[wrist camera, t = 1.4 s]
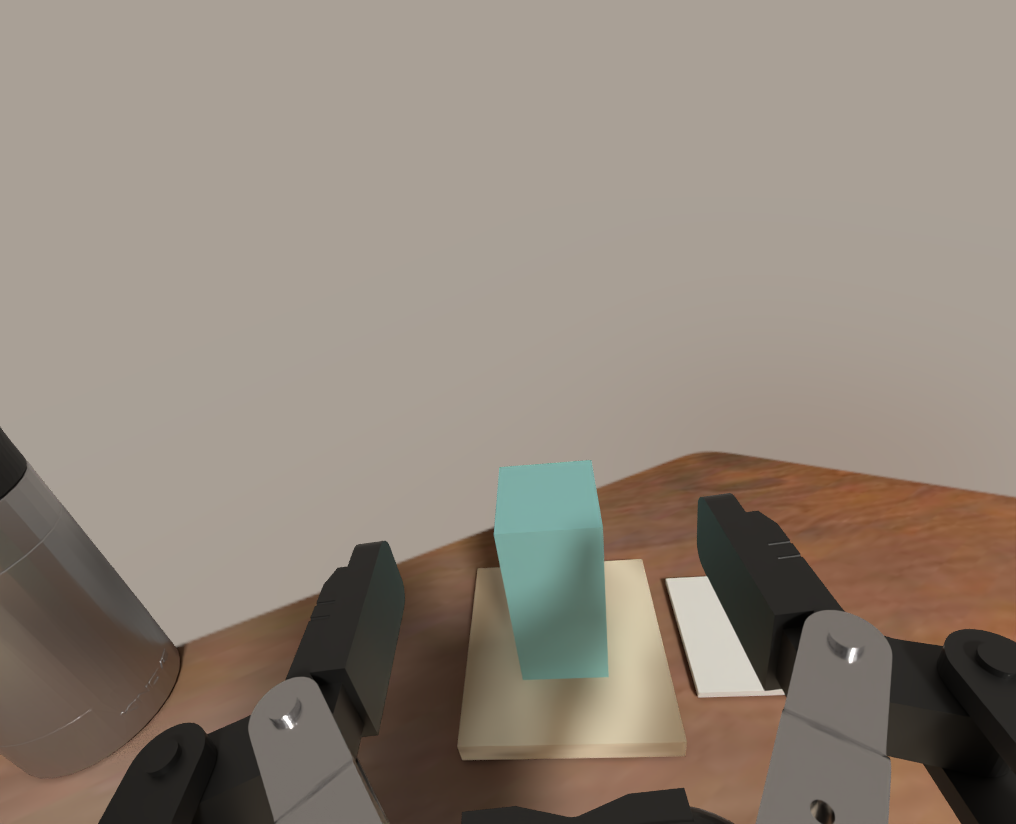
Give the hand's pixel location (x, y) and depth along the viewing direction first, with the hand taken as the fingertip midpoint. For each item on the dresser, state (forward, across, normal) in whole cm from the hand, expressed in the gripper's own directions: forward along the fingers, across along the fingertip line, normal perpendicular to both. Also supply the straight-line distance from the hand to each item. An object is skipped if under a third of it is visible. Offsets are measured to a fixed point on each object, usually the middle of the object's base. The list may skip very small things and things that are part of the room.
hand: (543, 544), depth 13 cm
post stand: (+11, 0, +20) cm, 23 cm away
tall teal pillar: (+11, 0, +18) cm, 21 cm away
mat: (+11, -11, +20) cm, 26 cm away
